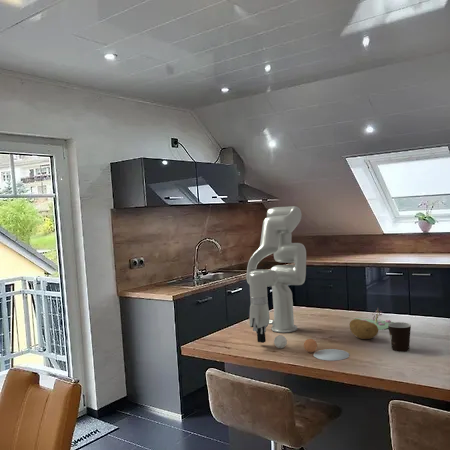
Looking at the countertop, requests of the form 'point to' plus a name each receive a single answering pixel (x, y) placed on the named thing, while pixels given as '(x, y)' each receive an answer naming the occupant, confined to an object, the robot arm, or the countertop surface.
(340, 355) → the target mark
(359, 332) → the potato
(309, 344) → the object ball
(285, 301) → the robot arm
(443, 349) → the countertop surface
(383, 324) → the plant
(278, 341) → the cue ball
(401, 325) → the coffee mug
